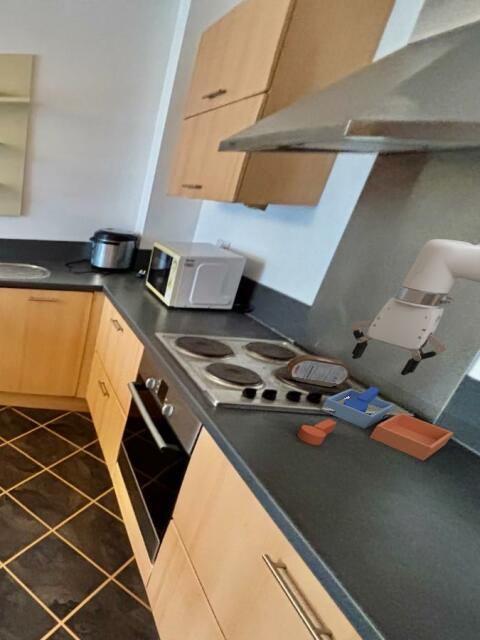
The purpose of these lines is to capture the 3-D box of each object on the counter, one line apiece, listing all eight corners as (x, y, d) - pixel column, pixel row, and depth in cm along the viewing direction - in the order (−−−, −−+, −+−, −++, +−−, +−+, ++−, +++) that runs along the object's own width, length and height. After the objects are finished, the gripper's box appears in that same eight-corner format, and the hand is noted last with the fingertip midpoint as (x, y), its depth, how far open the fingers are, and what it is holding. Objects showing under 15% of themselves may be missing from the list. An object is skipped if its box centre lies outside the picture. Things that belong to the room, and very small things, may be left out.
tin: (338, 386, 123) (352, 361, 119) (343, 391, 121) (357, 365, 117) (281, 376, 127) (292, 351, 123) (284, 381, 124) (296, 355, 121)
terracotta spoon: (338, 435, 99) (343, 425, 97) (315, 447, 93) (321, 436, 92) (316, 425, 102) (321, 415, 101) (293, 436, 97) (298, 426, 96)
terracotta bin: (444, 444, 98) (453, 432, 96) (423, 460, 91) (432, 448, 90) (392, 424, 105) (400, 412, 104) (369, 437, 99) (377, 425, 97)
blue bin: (387, 416, 109) (395, 404, 107) (364, 428, 102) (372, 416, 101) (344, 399, 116) (350, 388, 114) (320, 409, 110) (326, 398, 108)
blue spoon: (382, 400, 109) (386, 391, 107) (358, 419, 105) (362, 410, 104) (361, 392, 112) (365, 384, 111) (337, 410, 109) (341, 402, 107)
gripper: (479, 307, 88) (432, 378, 96) (379, 286, 102) (345, 350, 110) (467, 310, 85) (419, 383, 93) (365, 288, 98) (331, 354, 106)
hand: (379, 365), depth 101 cm, fingers open, 9 cm apart
